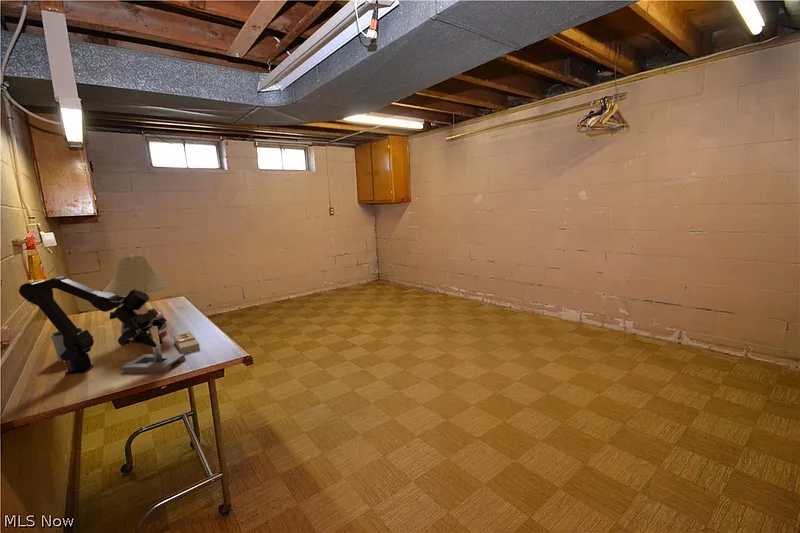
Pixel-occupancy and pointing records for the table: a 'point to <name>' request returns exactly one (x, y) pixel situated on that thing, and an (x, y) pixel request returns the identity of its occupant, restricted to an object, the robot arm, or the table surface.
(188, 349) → the electrical outlet
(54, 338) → the drinking glass
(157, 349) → the steel post
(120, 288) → the desk lamp
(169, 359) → the keyhole plate
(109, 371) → the table surface
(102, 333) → the table surface
